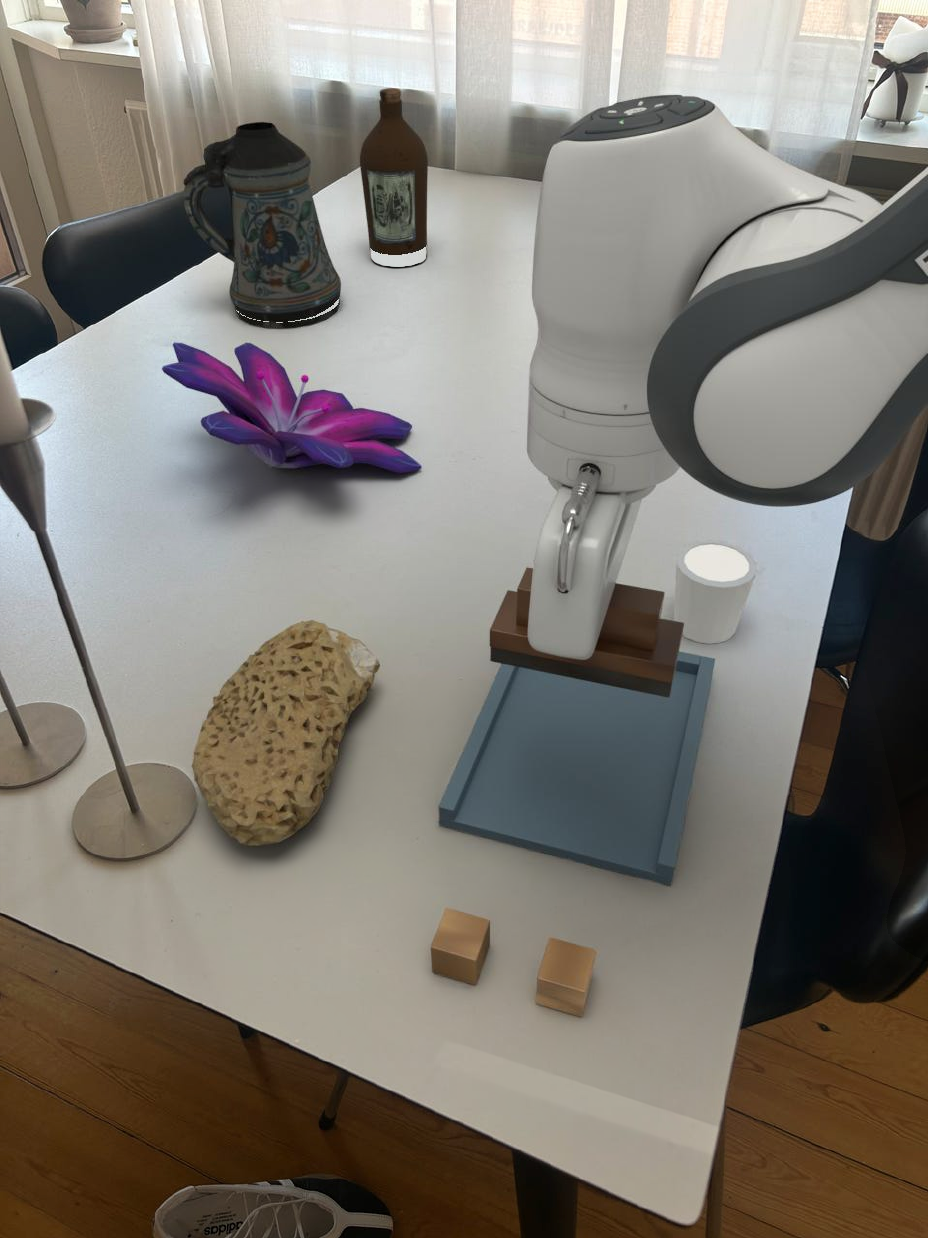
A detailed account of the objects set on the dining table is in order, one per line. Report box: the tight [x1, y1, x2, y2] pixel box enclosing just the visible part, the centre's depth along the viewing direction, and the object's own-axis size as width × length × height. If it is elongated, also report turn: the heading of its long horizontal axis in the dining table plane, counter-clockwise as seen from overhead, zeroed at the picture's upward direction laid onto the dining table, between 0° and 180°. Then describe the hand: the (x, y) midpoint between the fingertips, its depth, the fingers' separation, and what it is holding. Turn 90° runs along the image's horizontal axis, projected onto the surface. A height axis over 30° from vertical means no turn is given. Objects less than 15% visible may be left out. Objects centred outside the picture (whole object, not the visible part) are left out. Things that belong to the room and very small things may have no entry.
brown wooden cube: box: [430, 907, 491, 986], centre depth 62 cm, size 3×3×3 cm
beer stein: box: [182, 121, 342, 330], centre depth 136 cm, size 16×19×25 cm
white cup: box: [673, 539, 758, 645], centre depth 86 cm, size 7×7×7 cm
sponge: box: [191, 619, 381, 846], centre depth 74 cm, size 13×8×20 cm
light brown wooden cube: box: [535, 936, 597, 1018], centre depth 60 cm, size 3×3×3 cm
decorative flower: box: [161, 342, 423, 474], centre depth 108 cm, size 31×31×10 cm
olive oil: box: [359, 87, 429, 255], centre depth 153 cm, size 11×11×25 cm
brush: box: [489, 566, 684, 698], centre depth 63 cm, size 12×4×6 cm, turn 72°
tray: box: [438, 650, 716, 887], centre depth 76 cm, size 17×22×2 cm
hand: (589, 616), depth 62 cm, fingers closed on brush, 2 cm apart
